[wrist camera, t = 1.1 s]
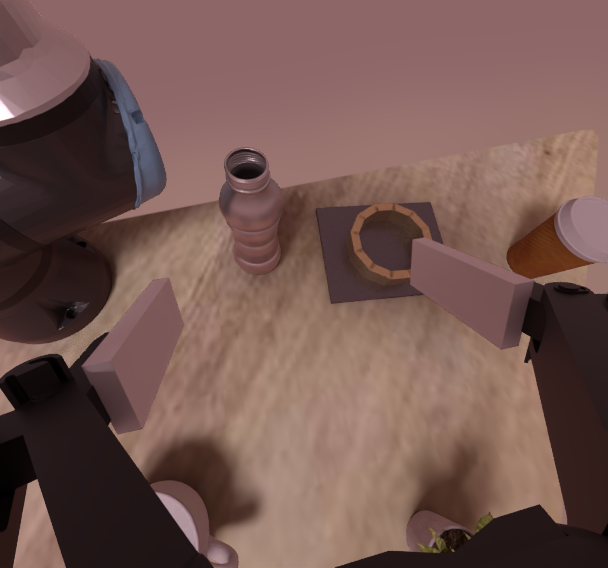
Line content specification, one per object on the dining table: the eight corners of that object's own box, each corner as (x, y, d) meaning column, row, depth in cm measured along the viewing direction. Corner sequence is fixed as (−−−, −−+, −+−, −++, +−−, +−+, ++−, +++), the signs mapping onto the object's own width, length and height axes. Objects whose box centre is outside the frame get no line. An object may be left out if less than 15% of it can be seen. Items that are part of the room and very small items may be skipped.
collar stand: (331, 303, 41) (336, 296, 38) (316, 210, 46) (319, 196, 43) (455, 291, 44) (470, 284, 41) (428, 204, 49) (439, 191, 46)
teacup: (94, 565, 30) (33, 628, 22) (148, 454, 33) (111, 475, 26) (217, 614, 29) (197, 695, 22) (257, 497, 33) (253, 532, 25)
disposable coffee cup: (542, 299, 45) (632, 272, 34) (489, 267, 46) (559, 231, 35) (557, 255, 48) (644, 217, 37) (507, 226, 49) (576, 180, 38)
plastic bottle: (237, 239, 43) (208, 131, 24) (281, 240, 44) (286, 136, 25) (234, 278, 41) (201, 194, 22) (280, 279, 42) (285, 197, 23)
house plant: (375, 443, 36) (451, 491, 21) (479, 468, 36) (629, 533, 21) (358, 585, 31) (440, 786, 16) (478, 612, 32) (671, 834, 16)
